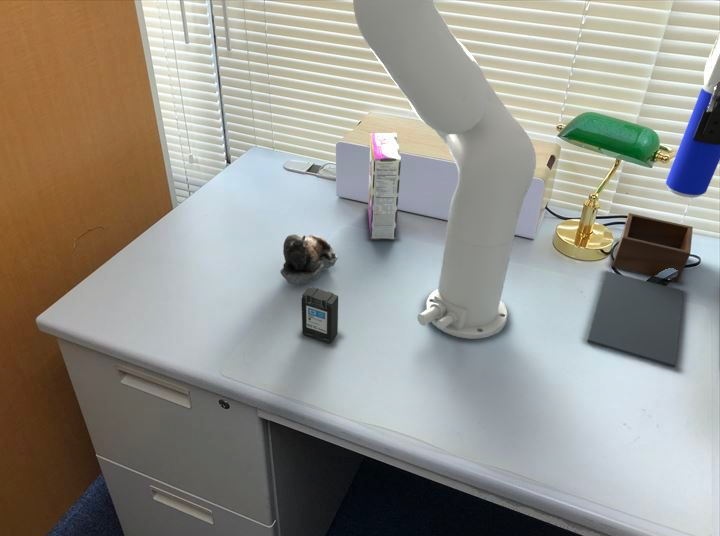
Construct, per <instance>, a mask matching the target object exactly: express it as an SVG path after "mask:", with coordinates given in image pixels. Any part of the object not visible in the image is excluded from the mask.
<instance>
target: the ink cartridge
mask: <svg viewBox="0 0 720 536" xmlns="http://www.w3.org/2000/svg"><path fill="white" fill-rule="evenodd" d="M300 300H301V328H302V329H301V333H302V335H303V336H305V337H308V338H311V339H314V340H316V341H319V342H322V343H324V344H329V345H330V344H332V343H333V342H334V340H335V339H336V337H337V336H338V335H339V333H338V332H339V295H338V294H334V292H331V291H330V290H329V291H327V290H324V289H320V288H319V287H315V286H312V287H311V286H308V287H307V288H306V289H305V291H304V292H303V293H302V294H301V298H300Z"/></svg>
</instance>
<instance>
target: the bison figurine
mask: <svg viewBox="0 0 720 536" xmlns="http://www.w3.org/2000/svg"><path fill="white" fill-rule="evenodd" d="M282 249H283V250H282V254H283V257H284V263H283V267H282V268H281V270H280V273H279V274H280V275H281V277H283V278H284V279H285V281H286V282H287V284H288V285H290V286H293V287H300V286H301V287H302V286H305V285H308V284H309V283H311V282H314V281H316V280H317V279H318V278H319V276H320V274H321V273H322V272H324V271H325V270H328V269H330V268H331V267H334V266H335V264H336V262H337V261H338V260H339V256H338V255H337V254H336V252H334V250H333V248H332V246H331V244H330V243H328V242H327V241H326V240H325V239H324V237H322V236H319V235H315V234H310V235H307V236H306V235H300V234H295V233H294V234H289V235H288V236H286V237H285V240H284V241H283V248H282Z"/></svg>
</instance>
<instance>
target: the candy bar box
mask: <svg viewBox="0 0 720 536" xmlns="http://www.w3.org/2000/svg"><path fill="white" fill-rule="evenodd" d="M397 135H398V134H397V133H396V132H372V133H370V142H369V143H370V145H369V171H368V172H369V173H368V197H367V198H368V199H367V200H368V202H367V214H368V224H369V226H368V227H369V233H370V234H369V237H370V240H375V241H376V240H396V237H397V236H396V235H397V223H398V222H397V220H398V207H399V193H400V183H401V181H400V178H401V165H402V156H401V151H400V145H399V140H398V136H397Z"/></svg>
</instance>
